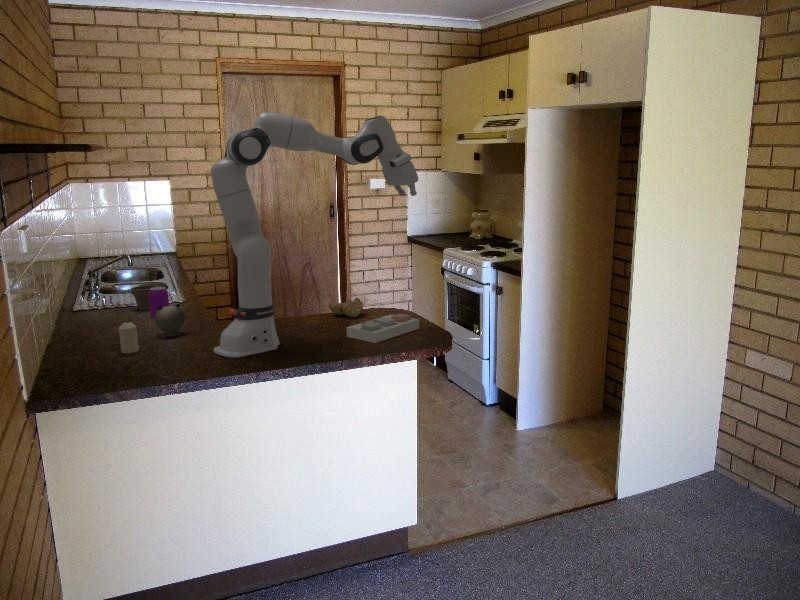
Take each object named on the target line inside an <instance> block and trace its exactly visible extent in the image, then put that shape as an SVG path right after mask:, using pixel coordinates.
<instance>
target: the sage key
mask: <svg viewBox="0 0 800 600" xmlns="http://www.w3.org/2000/svg"><path fill="white" fill-rule="evenodd" d="M361 328H362V330H366V331H371V332H373V331H376V330H379V329H382V328H381V324H379V323H374V322H369V323H366V324H362V325H361Z"/></svg>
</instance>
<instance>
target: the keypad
mask: <svg viewBox="0 0 800 600" xmlns="http://www.w3.org/2000/svg"><path fill="white" fill-rule="evenodd" d="M393 315H394V314H388V315H385V316H381V317H378V318H374V319H370V320H367V321H364V322H360V323H357V324H353V325H350V326H346V337H347V338H351V339H355V340H360V341H364V342H369V343H373V344H377V343H379V342H382V341H385V340H389V339H392V338H395V337H398V336H401V335H405V334H407V333H410V332H413V331H417V330H420V319H418V318H413V317H410V320H408V321H405V322H396V324H395V325H392V326H389V327H385V326H381V328H382V329H379V330H376V331H373V332H371V331H366V330H362V328H361V325H362V324H366V323H369V322H374V323H377V320H379V319H383V318H391V316H393Z"/></svg>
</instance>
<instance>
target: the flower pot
mask: <svg viewBox="0 0 800 600" xmlns="http://www.w3.org/2000/svg"><path fill="white" fill-rule="evenodd" d="M153 287H159V285H156V284H146V285H137V286H134V287H131V288H130V293H131V295H133V296H134V300H135V302H136V305H137V307H138V309H139V311H141V312H147V311H149V312H150V304H149V295H148V294H149V290H150V288H153Z"/></svg>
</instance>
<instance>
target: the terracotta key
mask: <svg viewBox="0 0 800 600" xmlns="http://www.w3.org/2000/svg"><path fill="white" fill-rule="evenodd" d="M392 315H393V316H391V319H396V322H405V321H408V320H410V318H411V315H410V314H405V313H398V314H392Z"/></svg>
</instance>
